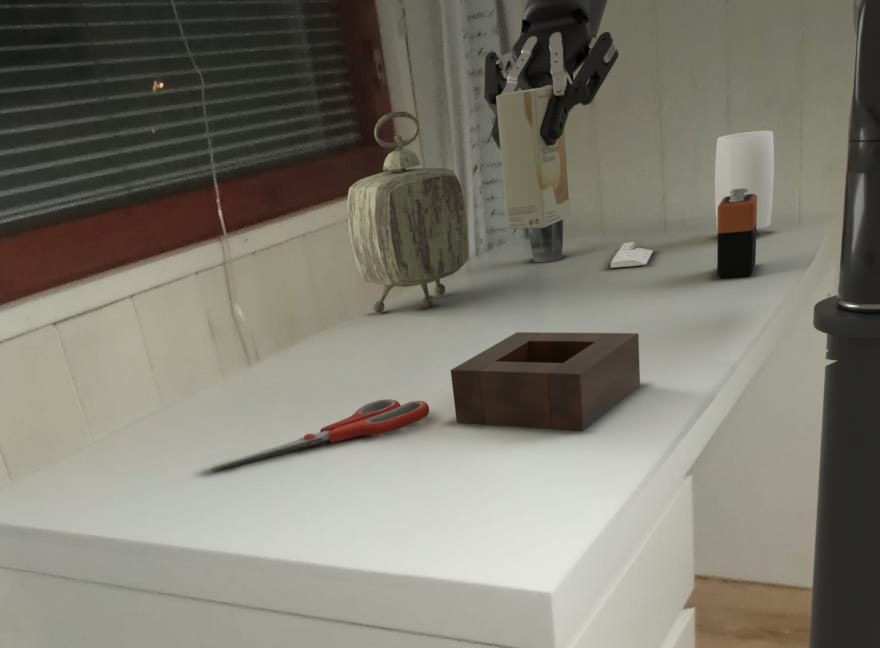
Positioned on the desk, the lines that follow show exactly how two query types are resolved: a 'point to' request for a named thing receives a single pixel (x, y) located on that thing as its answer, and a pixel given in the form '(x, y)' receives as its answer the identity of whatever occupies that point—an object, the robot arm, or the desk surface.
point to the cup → (746, 170)
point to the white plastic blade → (630, 256)
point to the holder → (547, 379)
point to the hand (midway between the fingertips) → (523, 141)
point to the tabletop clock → (407, 222)
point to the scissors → (356, 425)
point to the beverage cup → (547, 242)
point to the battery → (736, 234)
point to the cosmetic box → (531, 161)
